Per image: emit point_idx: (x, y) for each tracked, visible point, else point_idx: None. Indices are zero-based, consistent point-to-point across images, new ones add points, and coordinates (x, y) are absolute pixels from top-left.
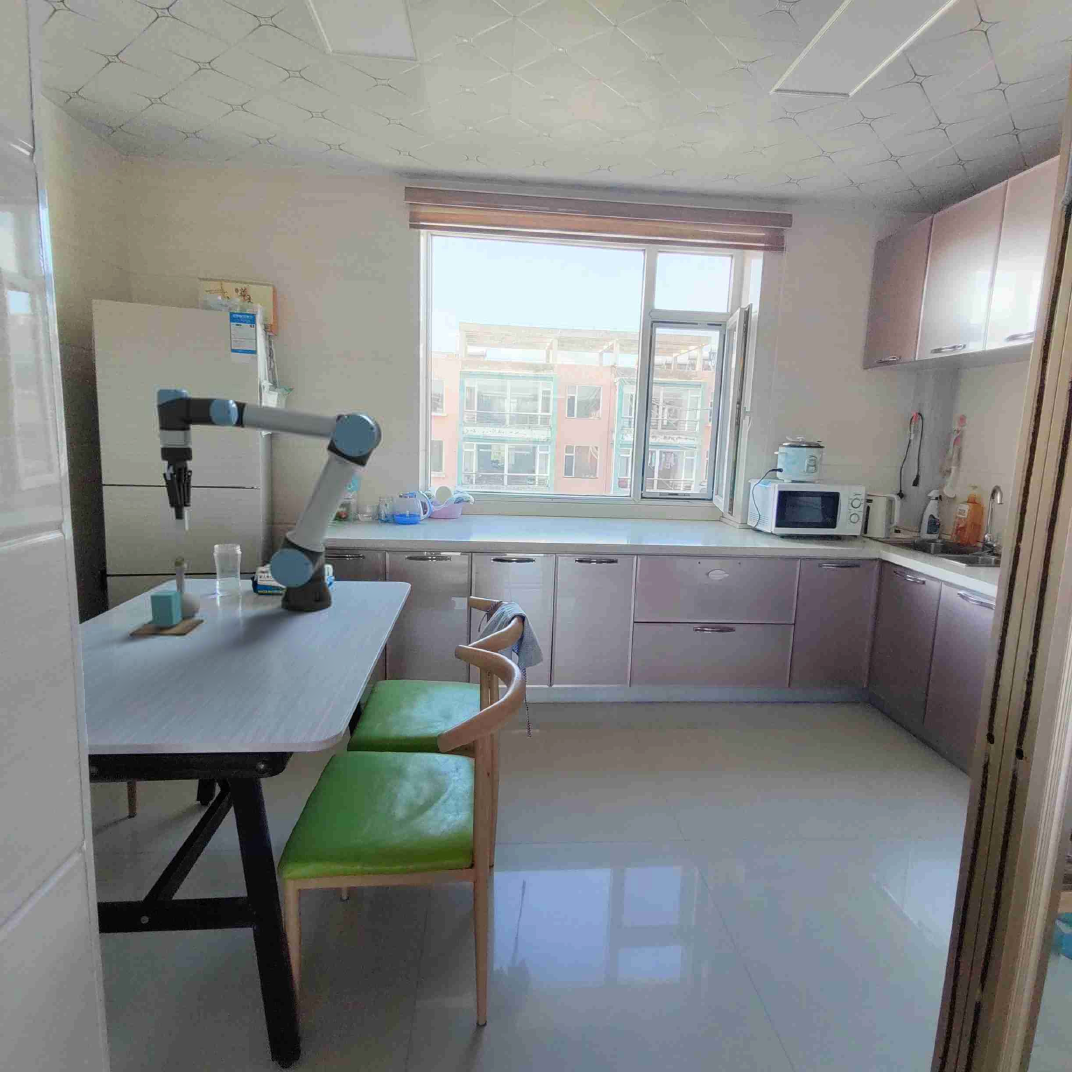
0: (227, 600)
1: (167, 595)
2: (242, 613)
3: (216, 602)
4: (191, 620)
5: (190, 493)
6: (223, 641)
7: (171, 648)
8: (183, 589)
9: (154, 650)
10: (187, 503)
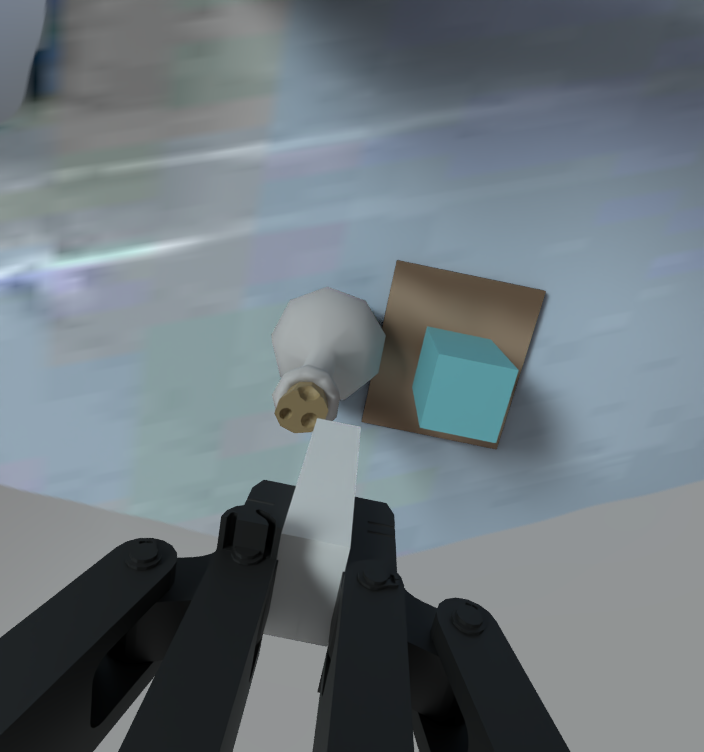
0: (123, 220)
1: (513, 383)
2: (320, 131)
3: (148, 257)
4: (400, 299)
5: (3, 639)
6: (662, 149)
7: (669, 306)
8: (331, 354)
9: (669, 350)
10: (219, 558)
